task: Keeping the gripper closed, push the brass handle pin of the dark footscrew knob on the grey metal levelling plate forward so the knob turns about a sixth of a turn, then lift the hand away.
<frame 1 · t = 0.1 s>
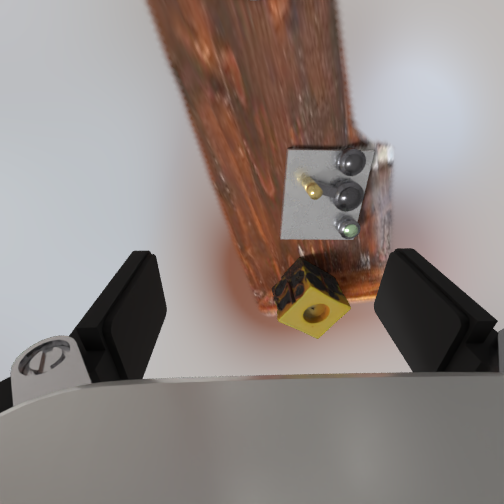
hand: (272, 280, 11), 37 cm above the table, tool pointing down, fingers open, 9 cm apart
levelling plate: (321, 196, 47), on the table
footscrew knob: (335, 194, 42), point 5 cm above the table, hinge at 0.0°
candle: (302, 282, 57), on the table
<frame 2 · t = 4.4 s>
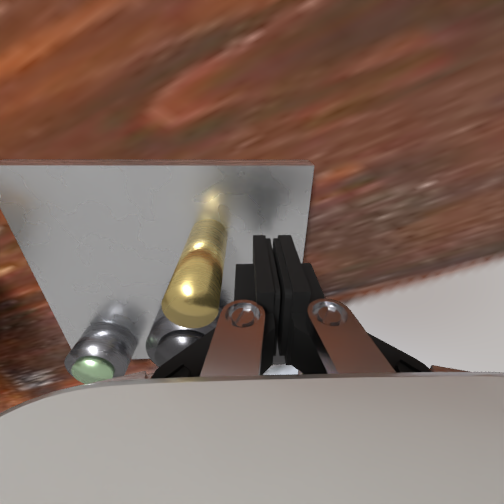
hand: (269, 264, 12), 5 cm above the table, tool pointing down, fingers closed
levelling plate: (176, 269, 17), on the table
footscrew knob: (190, 330, 14), point 5 cm above the table, hinge at 1.8°, touching gripper
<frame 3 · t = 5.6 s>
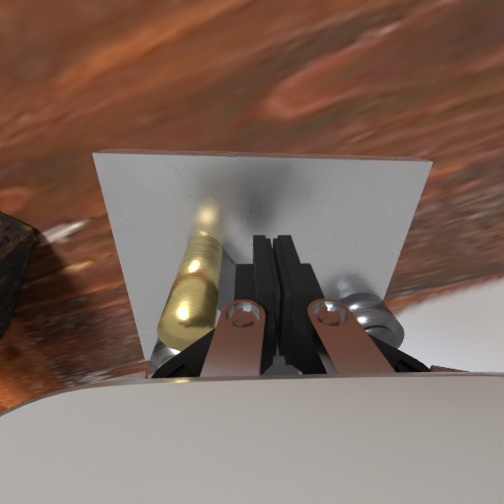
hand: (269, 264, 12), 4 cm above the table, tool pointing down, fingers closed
levelling plate: (259, 266, 17), on the table
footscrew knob: (252, 335, 13), point 5 cm above the table, hinge at 52.7°, touching gripper
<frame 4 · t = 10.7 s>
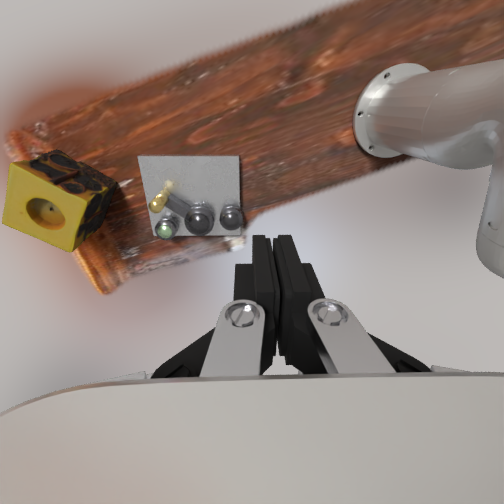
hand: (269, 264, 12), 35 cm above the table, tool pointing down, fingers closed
levelling plate: (194, 196, 46), on the table
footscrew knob: (183, 215, 43), point 5 cm above the table, hinge at 68.0°
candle: (82, 190, 45), on the table
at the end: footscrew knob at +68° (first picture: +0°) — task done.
